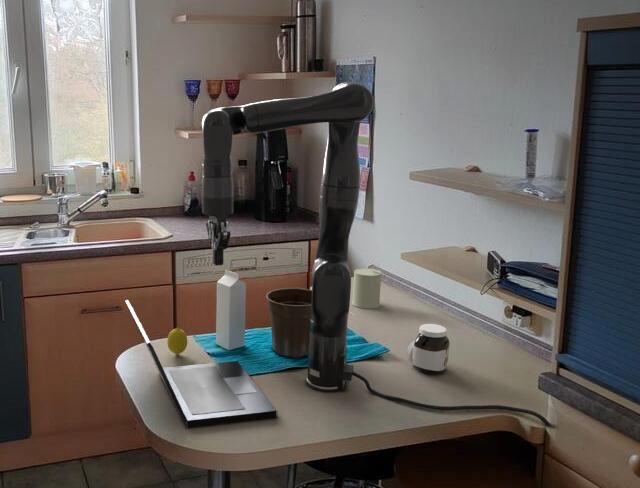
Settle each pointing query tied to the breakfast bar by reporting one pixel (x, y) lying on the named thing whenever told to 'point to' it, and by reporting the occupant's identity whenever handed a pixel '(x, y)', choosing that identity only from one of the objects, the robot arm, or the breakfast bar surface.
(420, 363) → the spread jar
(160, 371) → the laptop screen
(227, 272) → the milk
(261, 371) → the breakfast bar surface
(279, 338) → the plant pot
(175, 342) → the lemon
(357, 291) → the can
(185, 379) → the laptop
